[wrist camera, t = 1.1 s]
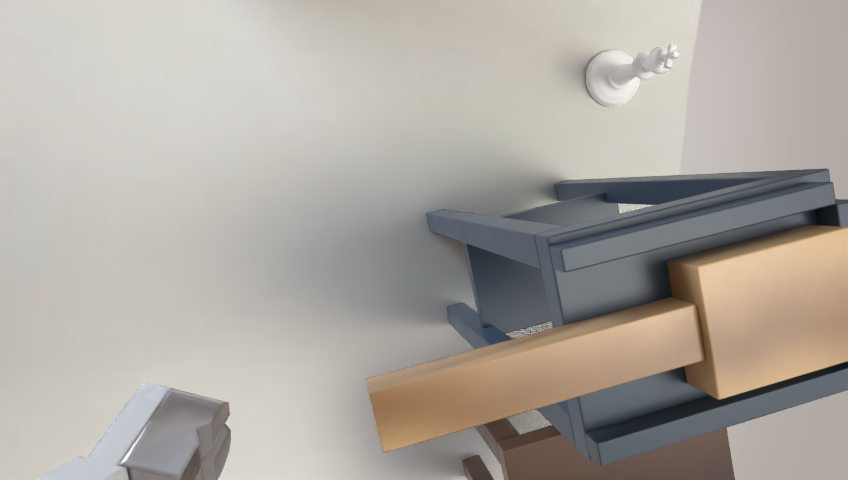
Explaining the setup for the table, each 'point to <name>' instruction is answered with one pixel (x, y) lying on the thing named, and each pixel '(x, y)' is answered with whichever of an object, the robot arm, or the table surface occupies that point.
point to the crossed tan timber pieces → (647, 340)
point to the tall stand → (632, 287)
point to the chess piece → (625, 73)
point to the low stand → (577, 476)
